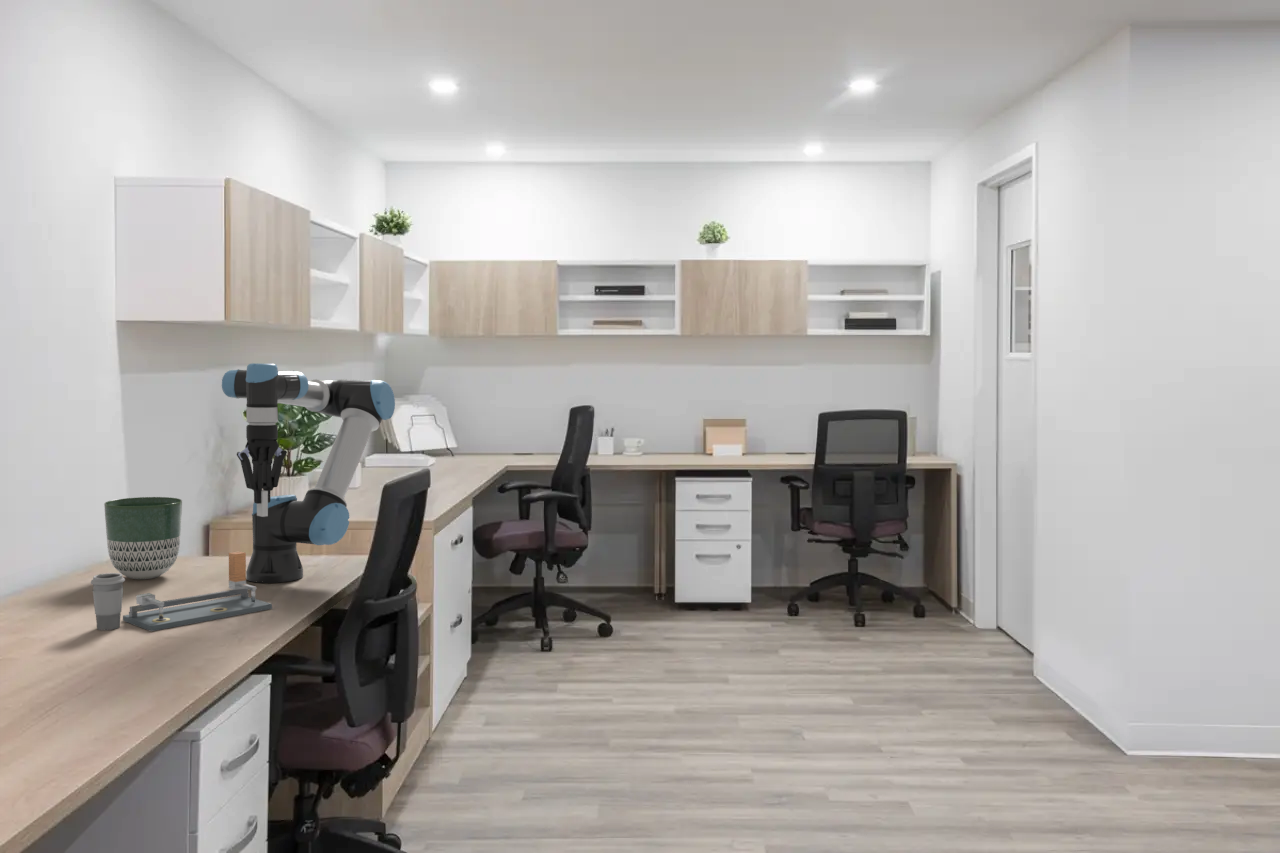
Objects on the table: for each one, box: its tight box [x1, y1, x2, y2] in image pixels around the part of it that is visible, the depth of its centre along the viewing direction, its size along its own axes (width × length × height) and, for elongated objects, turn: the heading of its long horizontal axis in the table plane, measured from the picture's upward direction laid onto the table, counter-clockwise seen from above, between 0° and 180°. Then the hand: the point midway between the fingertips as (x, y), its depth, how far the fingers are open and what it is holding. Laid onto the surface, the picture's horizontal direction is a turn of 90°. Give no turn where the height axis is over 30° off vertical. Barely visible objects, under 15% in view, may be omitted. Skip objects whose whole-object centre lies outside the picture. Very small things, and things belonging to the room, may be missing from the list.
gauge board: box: [122, 594, 273, 632], centre depth 251 cm, size 30×14×1 cm, turn 140°
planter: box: [103, 496, 183, 580], centre depth 290 cm, size 20×20×21 cm
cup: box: [90, 572, 126, 631], centre depth 237 cm, size 7×7×12 cm
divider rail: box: [128, 588, 250, 619], centre depth 251 cm, size 29×10×5 cm, turn 140°
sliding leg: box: [228, 551, 257, 602], centre depth 260 cm, size 3×10×11 cm, turn 50°
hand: (262, 515), depth 267 cm, fingers closed
